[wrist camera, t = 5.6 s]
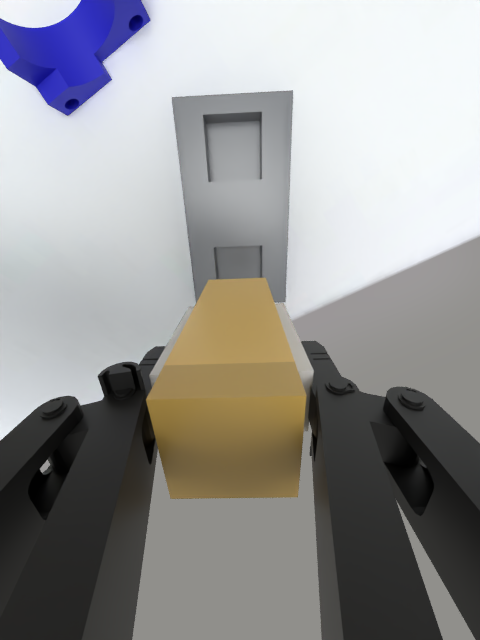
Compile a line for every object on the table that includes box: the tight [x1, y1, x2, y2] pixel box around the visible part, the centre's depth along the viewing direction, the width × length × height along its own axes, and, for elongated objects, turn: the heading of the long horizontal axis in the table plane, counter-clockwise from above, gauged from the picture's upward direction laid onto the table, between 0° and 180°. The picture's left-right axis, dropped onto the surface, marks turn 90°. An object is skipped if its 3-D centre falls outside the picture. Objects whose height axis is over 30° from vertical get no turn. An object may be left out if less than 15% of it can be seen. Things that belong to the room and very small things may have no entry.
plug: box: [146, 278, 306, 499], centre depth 12 cm, size 4×4×12 cm
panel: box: [172, 91, 293, 303], centre depth 28 cm, size 12×22×4 cm, turn 2°
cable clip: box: [0, 0, 150, 116], centre depth 21 cm, size 12×4×6 cm, turn 119°
